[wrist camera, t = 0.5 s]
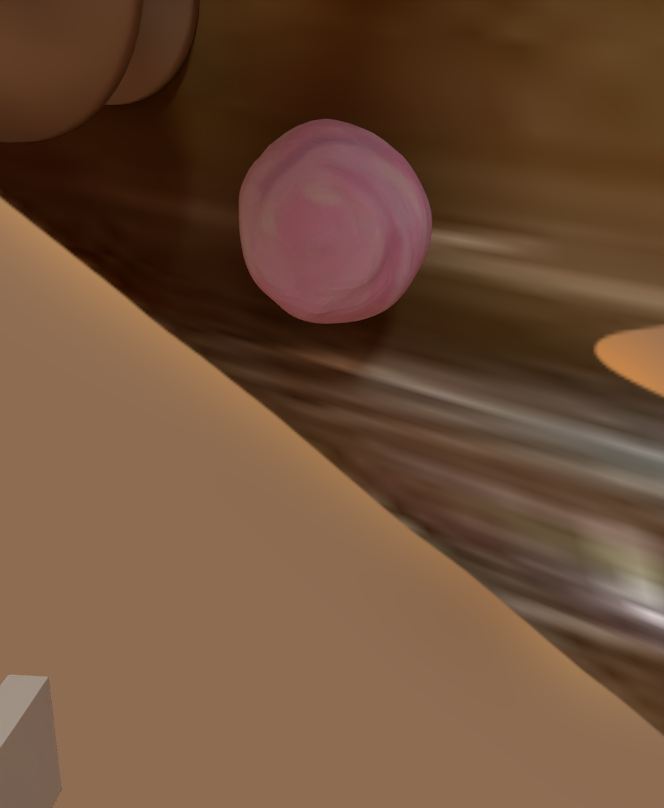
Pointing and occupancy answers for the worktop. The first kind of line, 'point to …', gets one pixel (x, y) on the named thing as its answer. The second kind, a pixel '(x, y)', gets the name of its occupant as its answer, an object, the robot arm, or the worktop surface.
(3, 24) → the cake stand
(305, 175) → the cupcake
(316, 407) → the worktop surface
